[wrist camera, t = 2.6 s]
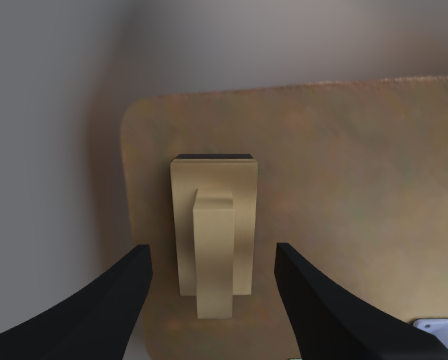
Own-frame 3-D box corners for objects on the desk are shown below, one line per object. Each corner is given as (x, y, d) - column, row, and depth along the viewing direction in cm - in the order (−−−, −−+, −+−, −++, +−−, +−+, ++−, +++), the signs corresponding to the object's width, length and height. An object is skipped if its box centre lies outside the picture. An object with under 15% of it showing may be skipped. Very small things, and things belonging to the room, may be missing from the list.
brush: (177, 154, 15) (155, 180, 10) (251, 154, 15) (270, 179, 10) (185, 269, 18) (171, 338, 13) (246, 268, 18) (258, 336, 13)
